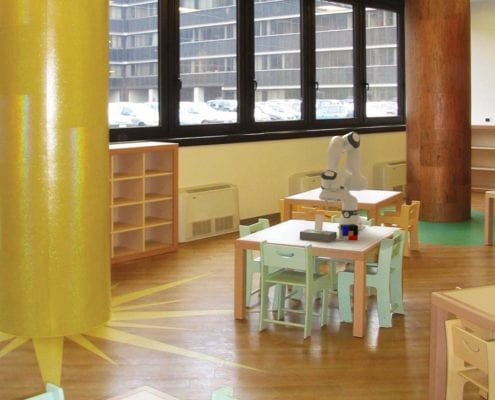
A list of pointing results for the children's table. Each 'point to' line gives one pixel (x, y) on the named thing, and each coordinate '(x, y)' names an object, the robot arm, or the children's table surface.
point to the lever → (319, 220)
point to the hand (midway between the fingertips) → (329, 204)
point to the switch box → (318, 235)
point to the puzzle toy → (348, 232)
